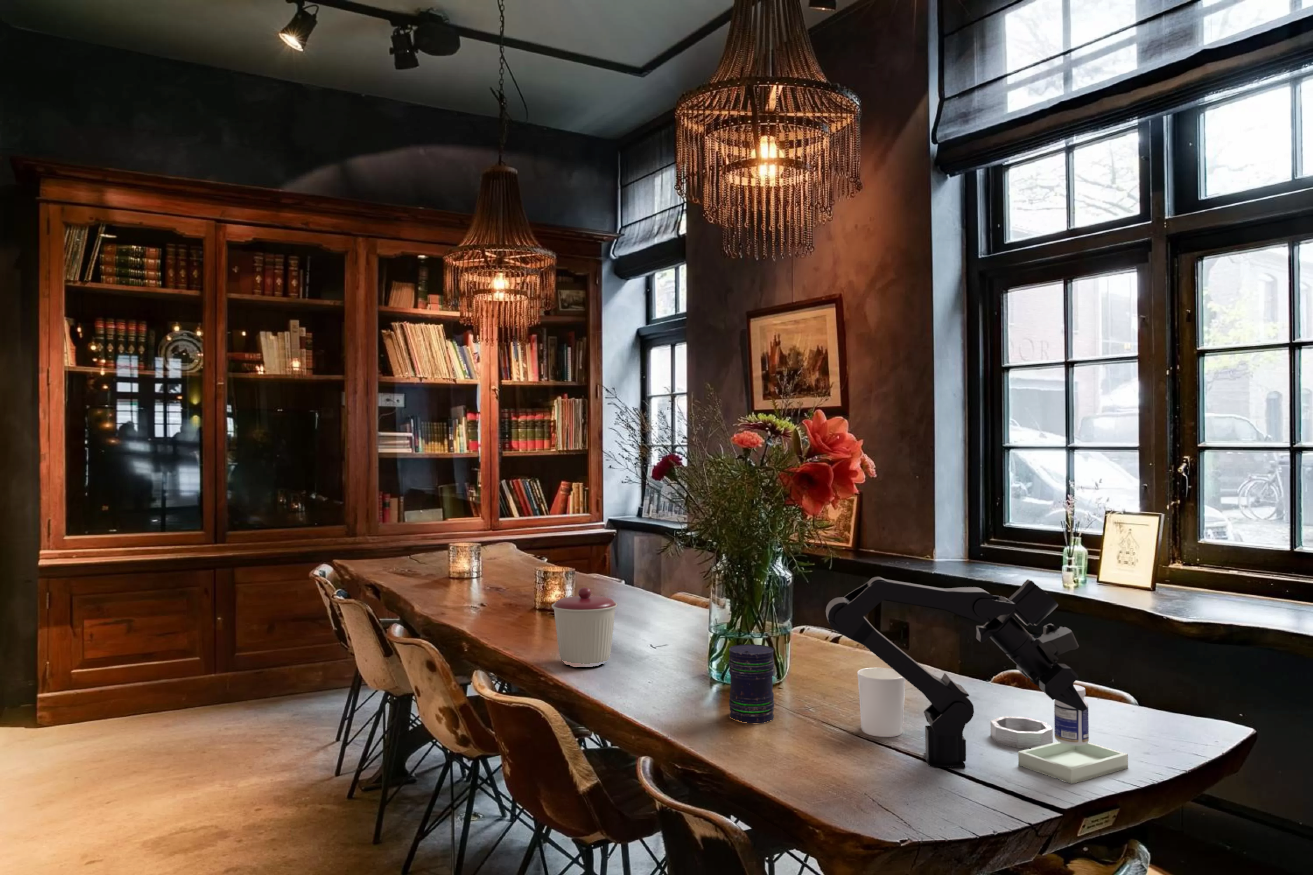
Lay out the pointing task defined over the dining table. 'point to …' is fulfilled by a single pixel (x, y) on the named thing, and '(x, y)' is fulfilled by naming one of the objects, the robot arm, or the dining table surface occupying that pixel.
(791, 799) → the dining table surface
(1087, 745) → the sage tray
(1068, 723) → the pill bottle
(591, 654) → the canister
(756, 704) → the storage jar
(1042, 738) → the steel collar
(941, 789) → the dining table surface
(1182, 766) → the dining table surface
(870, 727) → the candle holder
